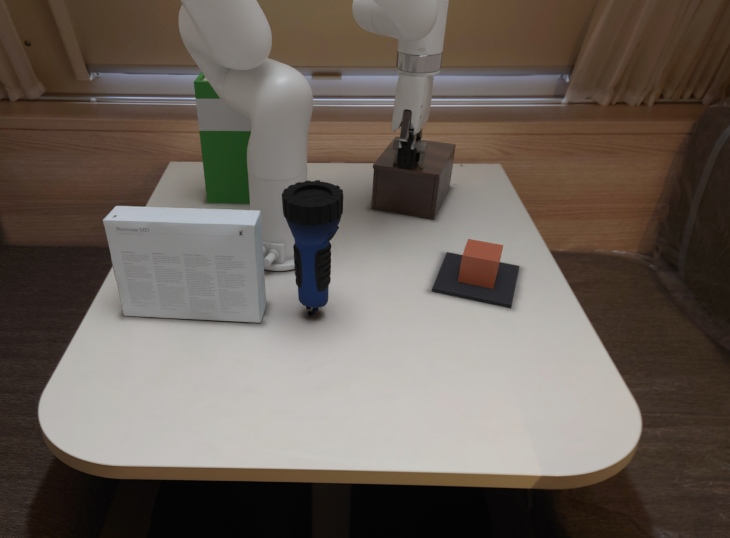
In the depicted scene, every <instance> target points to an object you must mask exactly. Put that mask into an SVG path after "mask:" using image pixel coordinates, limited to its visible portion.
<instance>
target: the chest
mask: <svg viewBox="0 0 730 538" xmlns="http://www.w3.org/2000/svg"><path fill="white" fill-rule="evenodd" d="M455 153H456V148H455V149H454V151H453V153H452V155H451V157H450V159H449V161H448V162H447V164H446V166H445V168H444V170H443V172H442V174H441V176H440V177H439V178H433V177H426V176H420V175H413V174H406V173H400V172H393V171H386V170H380V169H373V176H372V189H371V191H372V192H371V206H370V207H371V208H370V209H371V210H377V211H382V212H387V213H394V214H400V215H404V216H411V217H418V218H422V219H429V220H435V219H436V217H437V215H438V212H439V211H440V208H441V206H442V204H443V202H444V200H445V198H446V197H447V194H448V192H449V190H450V187H451V180H452V174H453V168H454V160H455Z"/></svg>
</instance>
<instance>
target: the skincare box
mask: <svg viewBox="0 0 730 538" xmlns="http://www.w3.org/2000/svg"><path fill="white" fill-rule="evenodd" d="M102 223H103V226H104V231H105V236H106V239H107V244H108V249H109V253H110V260H111V265H112V271H113V274H114V278H115V281H116V286H117V291H118V295H119V300H120V304H121V309H122V311H121V312H122V315H123V316H125V317H145V318H146V317H147V318H160V319H161V318H162V319H163V318H164V319H179V320H204V321H220V322H221V321H223V322H242V323H257V324H259V323H262V320H263V317H264V314H265V312H266V307H267V301H266V300H267V299H266V298H267V295H266V280H265V279H266V278H265V269H264V261H263V244H262V226H261V211H259V210H250V209H227V208H197V207H169V206H168V207H167V206H165V207H163V206H139V205H138V206H136V205H135V206H134V205H115V206H114V207H113V208H112V210H110V212H108V214H107V215H106V216H105V217H104V218H103V219H102Z"/></svg>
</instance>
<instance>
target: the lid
mask: <svg viewBox="0 0 730 538" xmlns="http://www.w3.org/2000/svg"><path fill="white" fill-rule="evenodd" d="M399 138H400V136H395V137H393V139H392V141H391V142H390V143H389V144H388V145H387V147H386V148H385V149H384V150H383V151H382V153H381V154H380V155H379V156H378V158H377V159H376V160H375V162H374V163H373V164H372V169H373V170H374V169H380V170H386V171H393V172H400V173H406V174H413V175H420V176H426V177H433V178H439V177H440V176H441V174H442V172H443V170H444V168H445V166H446V164H447V162H448V161H449V159H450V157H451V155H452V153H453V151H454V149H455V150H456V147H457V144H456V143H448V142H441V141H432V140H426V139H421V141H422V142H419V141H420V140H418V141H416V143H415V148H416V153H420V160H419V162H415V168H414V169H413V170H407V169H400V168H397V159H398V148H399Z"/></svg>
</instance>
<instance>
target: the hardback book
mask: <svg viewBox="0 0 730 538" xmlns="http://www.w3.org/2000/svg"><path fill="white" fill-rule="evenodd" d="M193 89H194V96H195V106H196V114H197V124H198V132H199V141H200V148H201V149H200V150H201V159H202V168H203V176H204V184H205V193H206V194H205V195H206V202H207V204H250V196H249V181H248V169H247V147H248V142H249V138H250V134H251V129H252V124H251V121H249V120H248V119H246V118H245V117H243V116H241V115H239V114H237V113H236V112H234V111H233V110H231V109H230V108H229V107H227V106H226V105H225V104H224V102H223V101H222V100H221V99H220V98H219V96H218V95H217V93H216V92H215V91H214V89H213V88H212V86H211V85H210V83H209V82H208V80H207V79H206V77H205V76H204V74H203V73H202V72H200V73H199V74H198V76H197V77H195V79H194V81H193Z"/></svg>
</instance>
